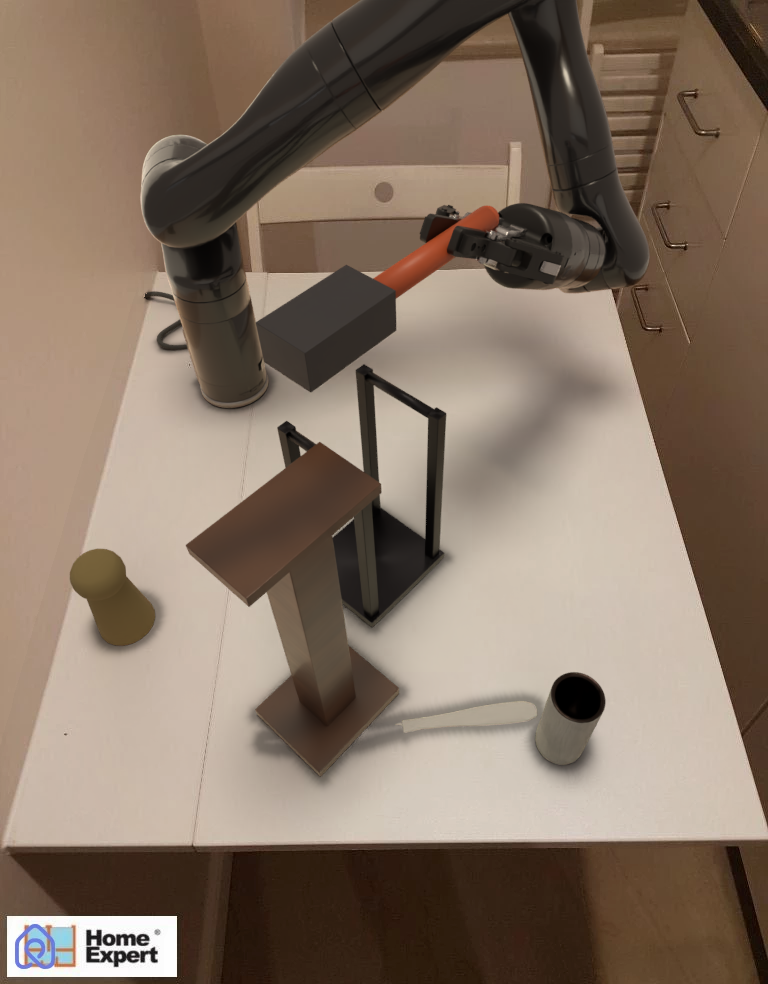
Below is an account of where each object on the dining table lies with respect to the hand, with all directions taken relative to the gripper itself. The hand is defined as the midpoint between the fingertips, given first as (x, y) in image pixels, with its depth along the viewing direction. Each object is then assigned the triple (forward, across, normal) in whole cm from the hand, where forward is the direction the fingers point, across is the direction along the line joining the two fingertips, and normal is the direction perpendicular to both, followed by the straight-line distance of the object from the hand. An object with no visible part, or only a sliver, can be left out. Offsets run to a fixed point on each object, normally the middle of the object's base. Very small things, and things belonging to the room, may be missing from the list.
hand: (440, 234), depth 56 cm
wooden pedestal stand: (+2, +7, +44) cm, 45 cm away
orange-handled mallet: (+3, 0, +5) cm, 6 cm away
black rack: (-11, -1, +37) cm, 38 cm away
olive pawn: (+9, -16, +48) cm, 52 cm away
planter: (-8, +26, +38) cm, 47 cm away
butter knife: (0, +14, +43) cm, 46 cm away
